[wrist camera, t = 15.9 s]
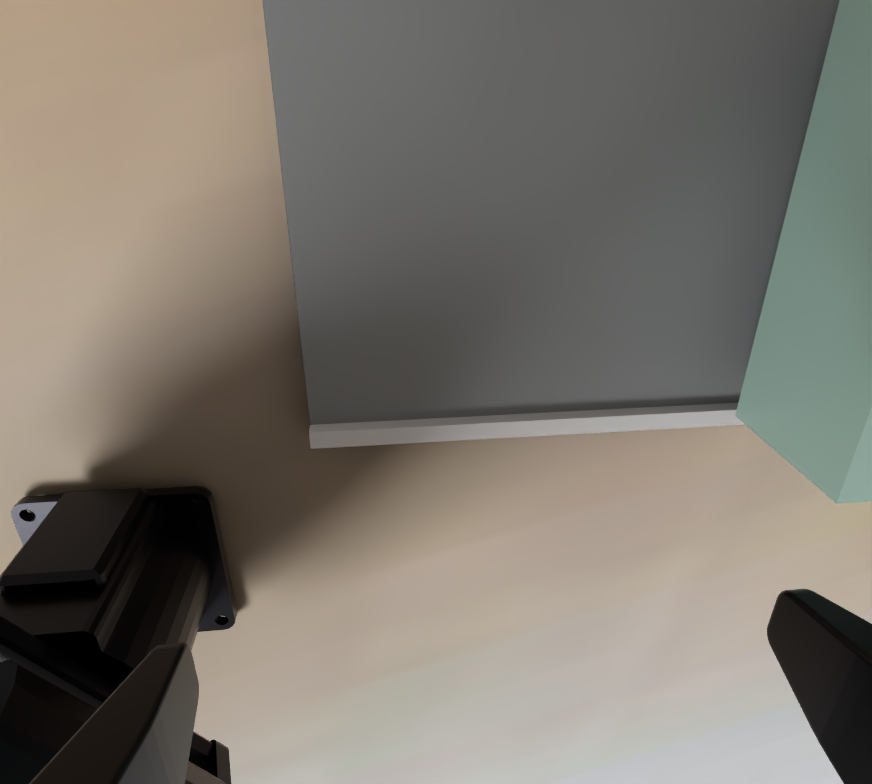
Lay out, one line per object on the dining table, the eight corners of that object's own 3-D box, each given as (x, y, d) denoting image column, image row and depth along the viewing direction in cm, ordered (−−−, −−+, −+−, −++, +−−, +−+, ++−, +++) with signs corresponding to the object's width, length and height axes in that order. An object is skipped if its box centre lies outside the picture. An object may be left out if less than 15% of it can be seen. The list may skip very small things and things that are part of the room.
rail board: (1095, 391, 23) (1205, 435, 20) (315, 433, 20) (306, 491, 17) (1338, -50, 17) (1551, -83, 14) (260, -74, 14) (230, -120, 11)
